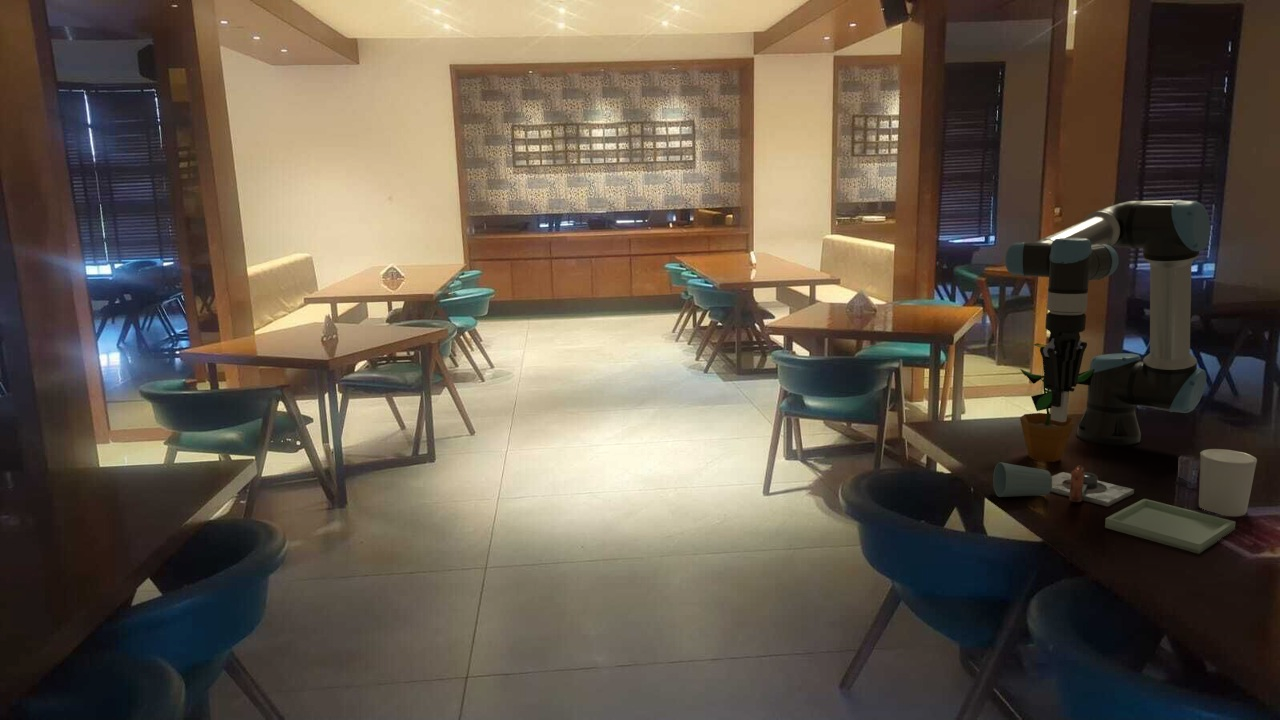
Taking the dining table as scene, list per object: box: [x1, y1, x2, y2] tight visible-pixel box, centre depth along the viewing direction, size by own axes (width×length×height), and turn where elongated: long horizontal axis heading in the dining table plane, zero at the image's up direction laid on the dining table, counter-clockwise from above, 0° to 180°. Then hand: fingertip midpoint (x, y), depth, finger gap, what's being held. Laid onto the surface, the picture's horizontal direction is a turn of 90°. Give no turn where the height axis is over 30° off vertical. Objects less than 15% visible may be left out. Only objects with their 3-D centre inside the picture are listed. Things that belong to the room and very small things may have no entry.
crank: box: [1068, 464, 1099, 503], centre depth 188 cm, size 16×5×7 cm, turn 144°
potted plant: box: [1019, 343, 1094, 463], centre depth 215 cm, size 18×19×30 cm
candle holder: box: [1198, 448, 1258, 517], centre depth 180 cm, size 10×10×12 cm
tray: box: [1104, 498, 1236, 555], centre depth 171 cm, size 17×17×2 cm
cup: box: [992, 461, 1052, 498], centre depth 190 cm, size 8×8×10 cm
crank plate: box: [1050, 471, 1135, 507], centre depth 194 cm, size 12×16×1 cm
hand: (1058, 420), depth 185 cm, fingers closed
